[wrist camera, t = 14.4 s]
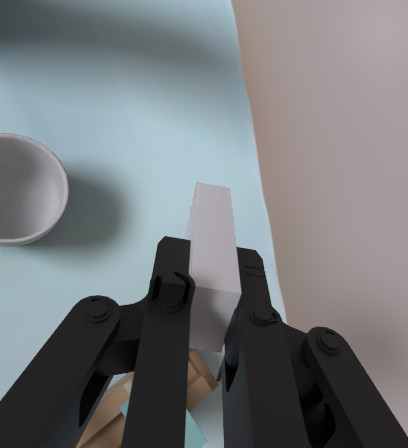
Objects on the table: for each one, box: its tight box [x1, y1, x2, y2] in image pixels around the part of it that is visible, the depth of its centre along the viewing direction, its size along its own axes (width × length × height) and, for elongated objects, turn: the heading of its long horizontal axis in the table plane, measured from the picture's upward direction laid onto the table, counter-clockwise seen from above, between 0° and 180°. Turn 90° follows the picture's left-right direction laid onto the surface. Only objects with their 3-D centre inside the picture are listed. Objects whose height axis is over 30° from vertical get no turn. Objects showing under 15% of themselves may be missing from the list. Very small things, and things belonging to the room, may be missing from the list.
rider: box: [119, 399, 207, 448], centre depth 35 cm, size 4×4×12 cm
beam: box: [76, 348, 219, 448], centre depth 39 cm, size 26×7×6 cm, turn 126°
